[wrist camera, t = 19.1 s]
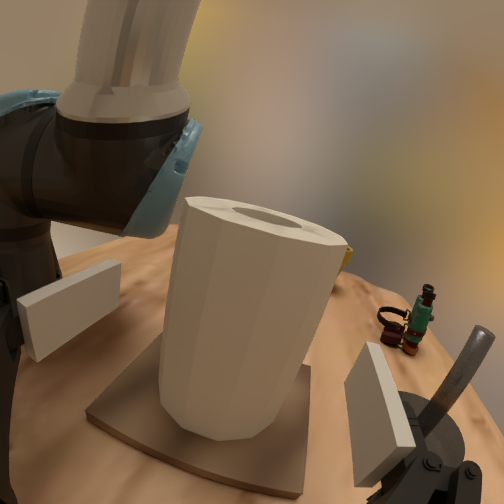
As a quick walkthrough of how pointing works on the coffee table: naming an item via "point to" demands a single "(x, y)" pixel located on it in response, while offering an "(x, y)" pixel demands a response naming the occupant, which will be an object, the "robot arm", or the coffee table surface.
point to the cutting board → (202, 448)
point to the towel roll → (241, 313)
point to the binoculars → (409, 322)
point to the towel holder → (450, 400)
